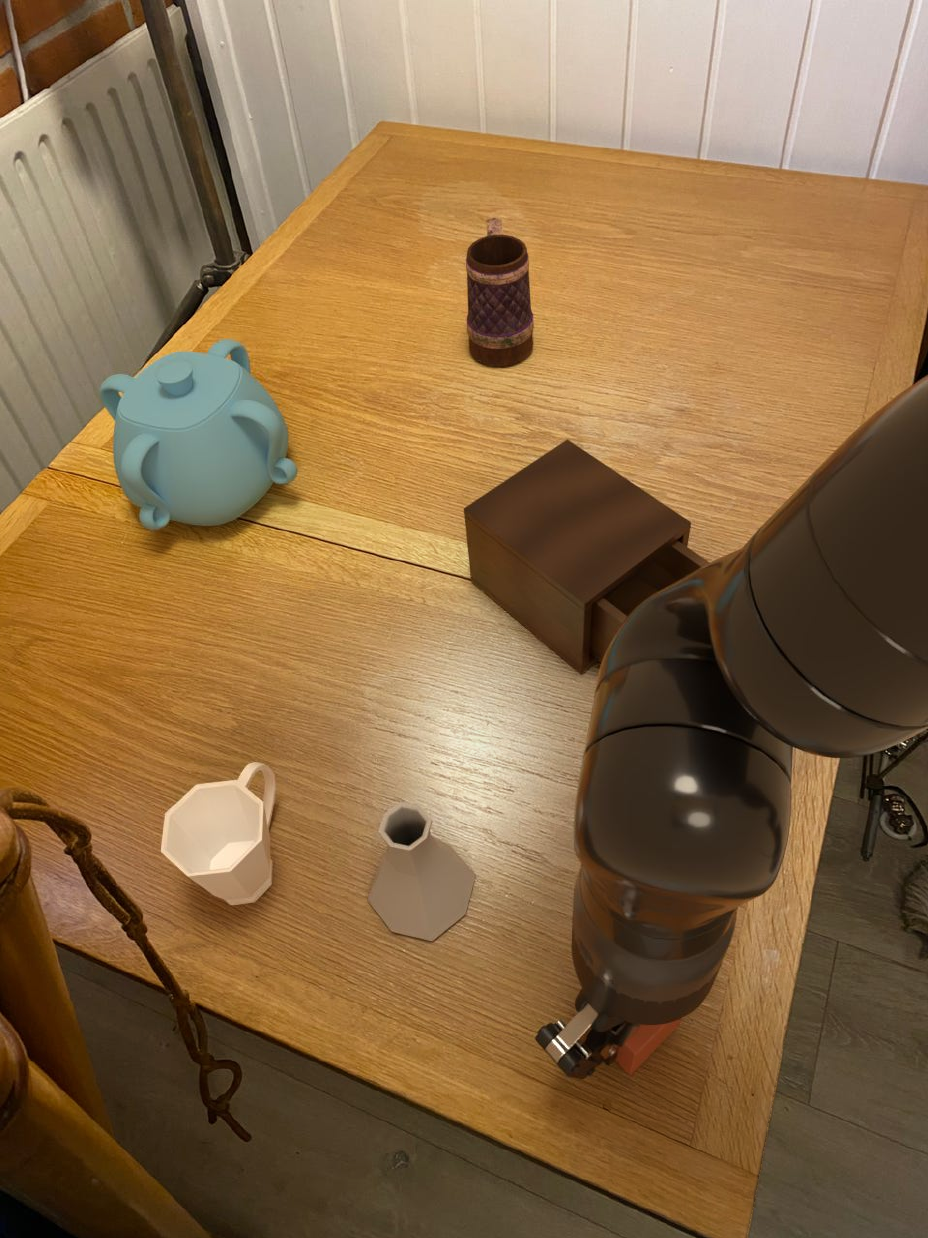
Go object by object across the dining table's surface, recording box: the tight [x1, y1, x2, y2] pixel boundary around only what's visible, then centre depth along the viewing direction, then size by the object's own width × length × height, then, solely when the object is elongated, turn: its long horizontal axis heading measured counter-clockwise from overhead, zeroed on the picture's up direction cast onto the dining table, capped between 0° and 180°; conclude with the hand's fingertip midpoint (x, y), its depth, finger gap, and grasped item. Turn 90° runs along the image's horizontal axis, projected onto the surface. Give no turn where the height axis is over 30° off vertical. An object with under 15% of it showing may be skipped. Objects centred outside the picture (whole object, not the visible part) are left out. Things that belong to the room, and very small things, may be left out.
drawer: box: [589, 540, 711, 664], centre depth 73 cm, size 17×10×7 cm, turn 41°
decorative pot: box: [98, 338, 298, 531], centre depth 88 cm, size 16×16×14 cm
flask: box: [367, 801, 476, 942], centre depth 63 cm, size 7×7×10 cm
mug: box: [465, 217, 535, 367], centre depth 100 cm, size 10×7×12 cm
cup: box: [160, 761, 277, 906], centre depth 66 cm, size 7×10×8 cm
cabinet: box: [463, 438, 692, 675], centre depth 78 cm, size 14×12×9 cm
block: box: [614, 1018, 683, 1076], centre depth 58 cm, size 4×4×5 cm
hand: (628, 1019), depth 60 cm, fingers closed on block, 4 cm apart
